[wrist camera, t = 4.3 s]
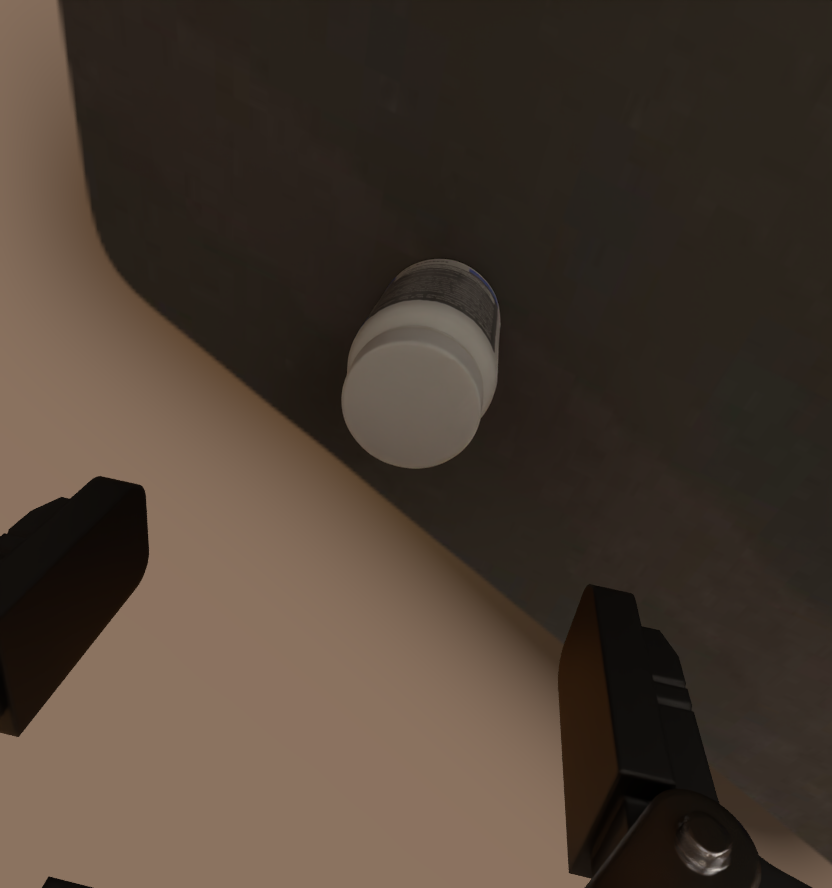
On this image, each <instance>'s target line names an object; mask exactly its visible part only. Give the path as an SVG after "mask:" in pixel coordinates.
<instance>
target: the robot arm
mask: <svg viewBox="0 0 832 888" xmlns="http://www.w3.org/2000/svg"><path fill="white" fill-rule="evenodd" d="M148 557H149V544H148V527H147V509H146V495H145V490H144V488H143V487H142V486H141V485H138V484H134V483H129V482H125V481H120V480H116V479H111V478H106V477H102V476H98V477H95V478H94V479H92V480H91V481H90V482H88V483H87V484H86V485H85V486H84V487H83V488H82V489H81V490H79V491H78V493H76V494H75V495H74V496H73V497H72V498H70V499H68V498H64V497H61V498H58V499H56V500H54V501H52V502H49V503H47V504H45V505H43V506H41V507H38V508H36V509H34V510H32V511H30V512H29V513H28V514H27V515H26V516H24V517H23V518H22V519H21V520H19V521H18V522H17V523H16V524H15V525H14V526H13V527H11V528H10V529H9V531H8V533H7V534H3V535H2V536H0V733H4V734H8V735H12V736H17V737H19V736H20V734H21V733H22V732H23V731H24V729H25V728H26V727H27V726H28V724H29V723H30V722H31V721H32V719H33V718H34V717H35V715H36V714H37V713H38V712H39V710H40V709H41V708H42V707H43V705H44V704H45V703H46V702H47V700H48V699H49V698H50V697H51V695H52V694H53V693H54V691H55V690H56V689H57V687H58V686H59V685H60V684H61V682H62V681H63V680H64V679H65V678H66V676H67V675H68V674H69V672H70V671H71V670H72V669H73V667H74V666H75V665H76V664H77V662H78V661H79V660H80V659H81V657H82V656H83V655H84V653H85V652H86V651H87V649H88V648H89V647H90V646H91V645H92V643H93V642H94V641H95V640H96V638H97V637H98V636H99V635H100V633H101V632H102V631H103V629H104V628H105V627H106V626H107V624H108V623H109V622H110V621H111V619H112V618H113V617H114V615H115V614H116V613H117V612H118V610H119V609H120V608H121V607H122V605H123V604H124V603H125V602H126V600H127V599H128V598H129V596H130V595H131V594H132V593H133V592H134V590H135V589H136V588H137V586H138V585H139V583H140V581H141V580H142V578H143V575H144V573H145V570H146V567H147V563H148ZM685 685H686V682H685V678H684V675H683V671H682V667H681V664H680V660H679V657H678V655H677V654H676V652H675V651H674V650H673V648H672V647H671V645H670V644H669V643H668V641H667V640H666V638H665V637H664V636H663V634H662V633H661V632H660V630H656V629H651V628H647V627H642V626H641V622H640V618H639V613H638V609H637V604H636V600H635V597H634V595H633V594H632V593H628V592H623V591H618V590H614V589H609V588H605V587H600V586H595V585H591V584H589V585H588V586H587V587H586V588H585V590H584V592H583V595H582V597H581V600H580V603H579V605H578V608H577V611H576V614H575V616H574V619H573V622H572V624H571V627H570V630H569V632H568V635H567V638H566V641H565V643H564V646H563V650H562V653H561V658H560V664H559V672H558V691H559V707H560V725H561V743H562V761H563V778H564V794H565V811H566V812H565V813H566V829H567V847H568V864H569V873H571V874H575V875H579V876H583V877H587V878H591V880H590V882H589V883H588V884H587V886H586V887H585V888H812V887H810V886H808V885H806V884H805V883H803V882H801V881H799V880H797V879H796V878H794V877H792V876H790V875H788V874H786V873H784V872H783V871H781V870H779V869H777V868H776V867H774V866H773V865H771V864H769V863H768V862H767V861H765V860H764V859H763V858H761V857H760V856H759V855H758V852H757V850H756V847H755V845H754V843H753V841H752V839H751V838H750V836H749V834H748V833H747V831H746V830H745V829H744V828H743V826H742V825H741V823H740V822H739V821H738V820H737V819H736V818H735V817H734V816H733V815H732V814H731V813H730V812H729V811H728V810H726V809H725V808H724V807H723V806H721V805H720V804H719V801H718V798H717V795H716V791H715V787H714V784H713V780H712V776H711V773H710V769H709V765H708V762H707V758H706V755H705V751H704V747H703V744H702V740H701V736H700V733H699V729H698V726H697V722H696V718H695V715H694V712H693V711H691V708H692V704H691V700H690V697H689V693H688V689H686V688H685ZM42 888H92V887H88V886H84V885H80V884H76V883H72V882H68V881H64V880H60V879H57V878H53V877H48V879H47V880H46V882H45V884H44V885H43V887H42Z"/></svg>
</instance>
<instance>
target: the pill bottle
mask: <svg viewBox="0 0 832 888" xmlns="http://www.w3.org/2000/svg"><path fill="white" fill-rule="evenodd" d="M500 329H501V323H500V310H499V305H498V302H497V298H496V296H495V293H494V291H493V290H492V288H491V286H490V285H489V283H488V282H487V281H486V280H485V279H484V278H483V277H482V276H481V275H480V274H479V273H478V272H477V271H475V270H474V269H472V268H471V267H469V266H467V265H465V264H463V263H460V262H458V261H454V260H450V259H430V260H425V261H422V262H418V263H416V264H413V265H411V266H409V267H408V268H406V269H405V270H403V271H402V272H401V273H400V274H398V275H397V276H396V277H395V278H394V279H393V281H392V282H391V283H390V284H389V286H388V287H387V289H386V290H385V292H384V293H383V295H382V297H381V298H380V300H379V301H378V303H377V304H376V305H375V307H374V309H373V310H372V312H371V313H370V315H369V316H368V318H367V319H366V321H365V322H364V323H363V325H362V326H361V328H360V330H359V331H358V333H357V335H356V337H355V339H354V341H353V343H352V346H351V349H350V352H349V356H348V364H347V376H346V378H345V381H344V385H343V388H342V399H341V401H342V411H343V416H344V420H345V422H346V425H347V427H348V429H349V431H350V433H351V434H352V436H353V437H354V438H355V440H356V441H357V442H358V443H359V444H360V445H361V447H362V448H364V449H365V450H366V451H367V452H368V453H369V454H371V455H372V456H374V457H376V458H377V459H379V460H381V461H383V462H385V463H388V464H392V465H395V466H398V467H403V468H414V469H418V468H428V467H432V466H436V465H439V464H442V463H444V462H446V461H448V460H450V459H452V458H453V457H455V456H456V455H458V454H459V453H460V452H461V451H462V450H464V449H465V447H466V446H467V445H468V444H469V443H470V442H471V440H472V438H473V437H474V435H475V433H476V431H477V429H478V426H479V422H480V419H481V417H482V416H483V415H484V413H485V412H486V411H487V409H488V407H489V405H490V403H491V401H492V398H493V396H494V393H495V389H496V386H497V379H498V354H499V353H498V352H499V339H500Z"/></svg>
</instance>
